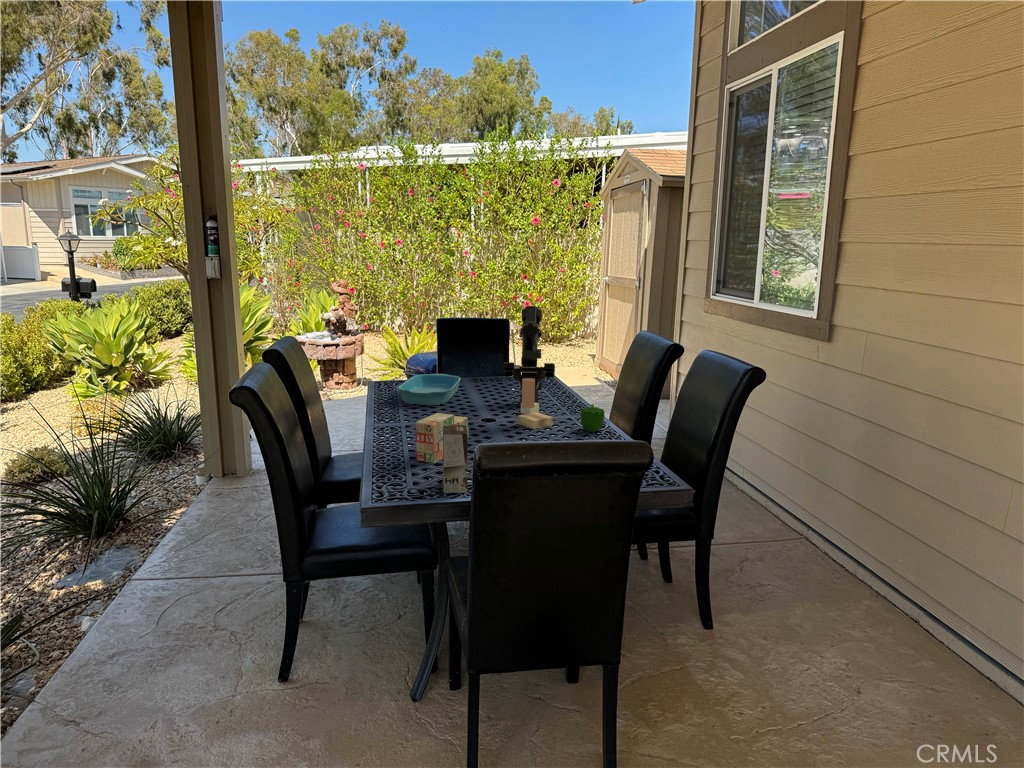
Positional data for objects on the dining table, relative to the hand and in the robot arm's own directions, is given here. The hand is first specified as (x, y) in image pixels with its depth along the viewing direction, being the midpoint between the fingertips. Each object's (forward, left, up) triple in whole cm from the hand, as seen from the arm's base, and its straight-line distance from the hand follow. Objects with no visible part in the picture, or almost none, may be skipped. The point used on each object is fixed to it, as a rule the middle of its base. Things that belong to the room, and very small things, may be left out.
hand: (528, 389), depth 233 cm
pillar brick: (-1, -1, -7) cm, 7 cm away
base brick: (-3, 0, -14) cm, 14 cm away
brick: (-11, -15, -14) cm, 23 cm away
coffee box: (+52, +40, -14) cm, 67 cm away
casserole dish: (+10, -58, -14) cm, 60 cm away
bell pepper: (-16, +16, -14) cm, 27 cm away
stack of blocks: (+41, +12, -14) cm, 44 cm away
